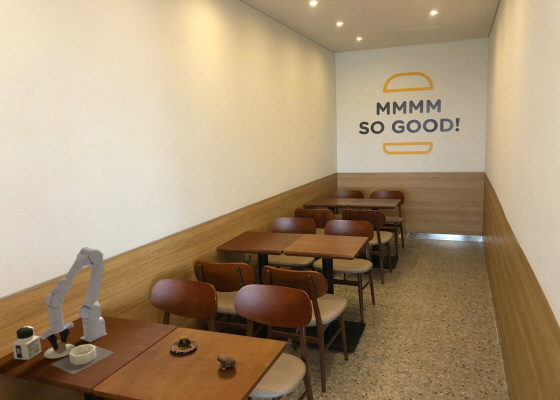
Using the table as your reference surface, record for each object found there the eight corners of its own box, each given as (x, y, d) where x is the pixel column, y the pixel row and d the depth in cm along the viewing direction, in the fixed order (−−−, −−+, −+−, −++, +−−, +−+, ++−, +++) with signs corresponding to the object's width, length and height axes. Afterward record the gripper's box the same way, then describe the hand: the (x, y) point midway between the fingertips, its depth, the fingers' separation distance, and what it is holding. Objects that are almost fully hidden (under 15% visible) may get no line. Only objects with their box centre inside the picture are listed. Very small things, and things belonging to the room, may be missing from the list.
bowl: (86, 350, 196) (85, 342, 195) (100, 356, 191) (99, 347, 190) (66, 360, 188) (65, 352, 187) (80, 366, 182) (79, 358, 182)
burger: (165, 353, 193) (164, 338, 191) (180, 341, 203) (179, 326, 202) (187, 358, 188) (186, 342, 187) (202, 345, 199) (201, 330, 198)
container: (29, 360, 190) (25, 332, 188) (14, 359, 191) (10, 331, 189) (41, 351, 197) (38, 324, 195) (27, 350, 199) (23, 323, 197)
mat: (92, 345, 202) (92, 344, 202) (114, 353, 193) (114, 352, 193) (51, 365, 185) (51, 364, 185) (73, 375, 177) (73, 374, 177)
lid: (65, 343, 206) (64, 333, 205) (81, 349, 199) (80, 339, 198) (38, 355, 195) (36, 345, 194) (54, 362, 188) (53, 352, 187)
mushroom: (217, 368, 173) (222, 352, 175) (211, 366, 180) (216, 351, 182) (235, 374, 175) (239, 358, 177) (228, 372, 182) (233, 357, 184)
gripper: (66, 311, 202) (69, 338, 205) (35, 323, 190) (38, 352, 192) (75, 314, 199) (78, 342, 201) (44, 327, 187) (47, 356, 189)
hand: (59, 347), depth 196 cm, fingers open, 3 cm apart
